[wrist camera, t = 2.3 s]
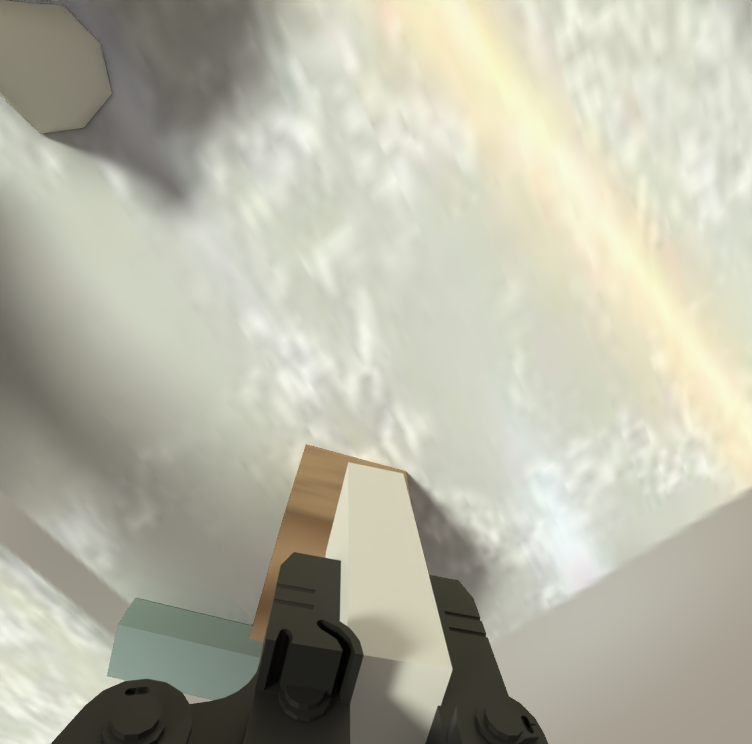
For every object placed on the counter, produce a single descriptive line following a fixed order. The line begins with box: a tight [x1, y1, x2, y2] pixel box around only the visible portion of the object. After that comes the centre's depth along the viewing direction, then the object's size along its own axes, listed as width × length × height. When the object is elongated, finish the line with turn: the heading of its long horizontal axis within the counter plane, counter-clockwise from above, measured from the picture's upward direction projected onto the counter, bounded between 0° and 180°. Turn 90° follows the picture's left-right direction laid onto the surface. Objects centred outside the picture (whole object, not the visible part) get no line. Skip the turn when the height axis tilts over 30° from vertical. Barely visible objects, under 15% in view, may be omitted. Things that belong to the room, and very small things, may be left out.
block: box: [249, 444, 412, 642], centre depth 35 cm, size 9×8×10 cm
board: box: [107, 598, 263, 700], centre depth 42 cm, size 5×18×3 cm, turn 73°
